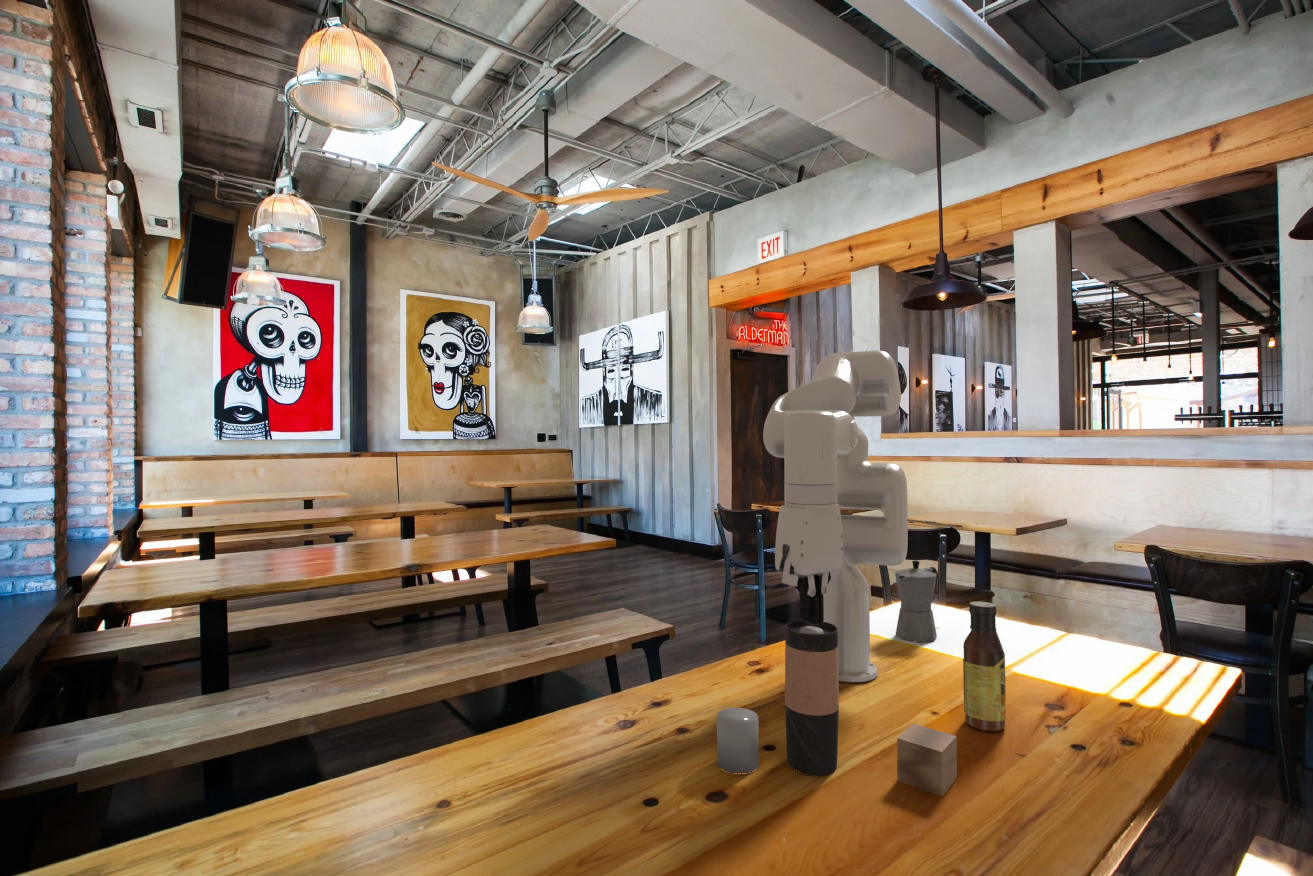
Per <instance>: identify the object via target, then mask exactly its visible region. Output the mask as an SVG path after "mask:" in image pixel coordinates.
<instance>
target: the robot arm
mask: <svg viewBox="0 0 1313 876" xmlns="http://www.w3.org/2000/svg"><path fill="white" fill-rule="evenodd" d="M901 399H902V391H901V383H900V377H899V372H898V367H897V365H896V361H895V360H894V359H893V357H892V356H891V354H889V353H888V352H887V351H883V350H865V351H863V350H862V351H861V350H860V351H840V352H836V353H834V352H833V353H831V354H829V355H826V356H824V357H823V358H822V359H821V360H820V361H819V363H818V364H817V366H816V369H815V371H814V373H813V376H812V379H811V381H810V382H807V383H805V384H803V385H801V386H799V387H797V388H794V389H791V390H790V391H788V392H786V393H784V394H782V395H780V396H779V397H777V398H776V399H775V401H774V402H773V404H772V405H771V407H770V410H769V411H768V413H767V416H766V418H765V421H764V426H763V433H762V434H763V435H762V437H763V444H764V446H765V449H766V450H767V452H768V453H769V454H770V455H772V456H773V457H776V458H780V459H783V460H784V461H783V462H784V505H780V509H779V512H778V517H777V525H776V533H775V547H774V566H775V570H776V571H777V572H779V573H782V577H781V583H782V584H783V585H787V586H790V587H791V586H793V587H794V588H795V591H796V593H797V594H799V620H804V621H806V622H807V623H810V624H819V623H820V622H827V623H831V624H833V625H835V626H836V627H837V629H838V682H842V683H863V682H864V683H865V682H869V681H872V680H874V679H876V678H877V677H878V675H879V669H878V667H877V665H876V664H874V663H873V662H871V661H870V660H871V659H870V658H871V654H870V653H871V652H870V651H871V649H870V647H871V646H870V645H871V644H870V643H871V642H870V639H871V638H870V635H871V634H870V632H871V631H870V630H871V629H870V622H871V621H870V618H871V617H870V610H871V609H870V607H871V606H870V585H869V582H868V580H867V579H866V577H865V576H864V574H863V573H862V571H861V569H859V568H858V566H857V565H873V566H875V565H876V566H890V567H891V566H899V565H901V564H902V563H904V562H905V560H906V558H907V554H908V542H909V541H908V539H909V538H908V535H909V534H908V532H909V531H908V529H909V527H908V520H909V519H908V483H907V477H906V474H905V471H904V469H903V468H902V467H901V466H899V465H897V464H895V463H890V462H869V440H868V437H867V435H866V434H865V432H864V431H863V430H862V428H861V427H860V426H859V425H858V424H857V422H856V421H855V420H854V418H855V417H857V418H859V417H862V418H864V417H865V418H866V417H888V416H889V417H890V416H893V415H894V414H896V413H897V411H898V409H899V408H900V404H901V401H902V400H901ZM853 417H854V418H853ZM841 509H847V510H848V509H850V510H866V511H867V510H869V511H872V510H873V511H880V512H881V513H882V514H883V516H876V515H874V516H873V515H860V514H859V515H857V514H855V515H854V514H841Z"/></svg>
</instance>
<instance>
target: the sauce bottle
mask: <svg viewBox="0 0 1313 876" xmlns="http://www.w3.org/2000/svg"><path fill="white" fill-rule="evenodd" d="M968 611H969V614H970V625H969V628H970V631H969V633H968V635H967V636H966V637H965V639H964V642H963V658H962V674H963V675H962V677H963V679H962V680H963V713H964V719H965V722H966V724H967V725H969V726H970V727H972V728H974V729H977V730H981V731H983V732H993V733H995V732H1000V731H1002V730H1003V729H1005V727H1006V719H1007V700H1006V699H1007V698H1006V697H1007V695H1006V694H1007V693H1006V691H1007V690H1006V687H1007V686H1006V685H1007V684H1006V653H1005V652H1004V648H1003V646H1002V642H1001V641H1000V640H1001V639H1000V638H999V635H998V632H997V625H996V615H997V613H998V612H997V605H996V604H995V603H992V602H988V601H970V602H969V605H968Z"/></svg>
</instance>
